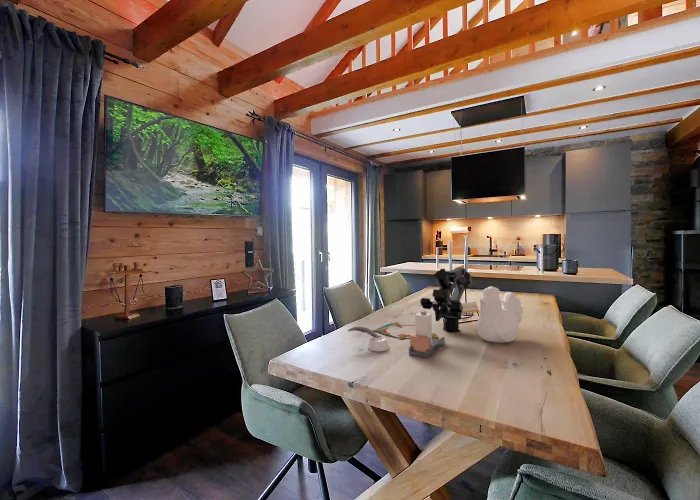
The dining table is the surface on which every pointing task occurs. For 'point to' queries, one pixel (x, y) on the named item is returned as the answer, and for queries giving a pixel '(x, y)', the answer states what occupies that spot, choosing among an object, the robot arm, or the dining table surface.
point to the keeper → (423, 324)
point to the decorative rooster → (499, 316)
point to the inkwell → (373, 339)
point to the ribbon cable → (383, 331)
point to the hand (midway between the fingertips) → (436, 320)
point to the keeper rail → (433, 348)
